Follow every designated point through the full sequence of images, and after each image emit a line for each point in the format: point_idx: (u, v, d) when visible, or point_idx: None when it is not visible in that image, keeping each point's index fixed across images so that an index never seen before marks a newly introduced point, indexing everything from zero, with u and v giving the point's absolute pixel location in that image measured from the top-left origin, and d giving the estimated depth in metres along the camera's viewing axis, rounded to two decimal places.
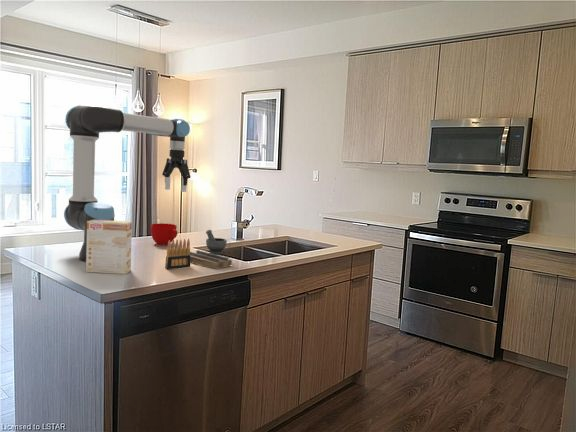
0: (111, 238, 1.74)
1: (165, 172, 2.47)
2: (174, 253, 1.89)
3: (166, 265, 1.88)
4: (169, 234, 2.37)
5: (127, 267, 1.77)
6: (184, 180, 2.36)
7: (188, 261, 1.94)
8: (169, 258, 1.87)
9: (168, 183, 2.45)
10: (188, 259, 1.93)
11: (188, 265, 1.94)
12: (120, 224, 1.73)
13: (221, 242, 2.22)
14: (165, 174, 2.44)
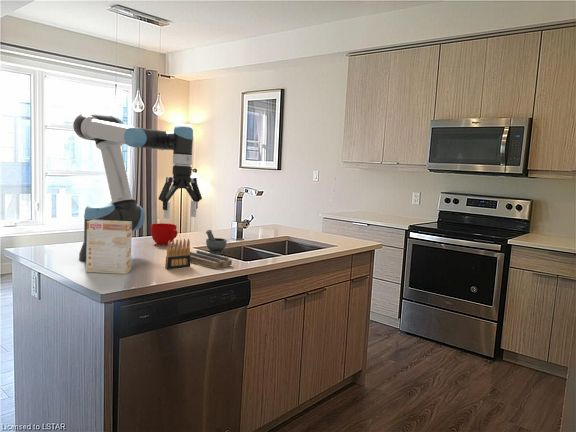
0: (111, 238, 1.74)
1: None
2: (174, 253, 1.89)
3: (166, 265, 1.88)
4: (169, 234, 2.37)
5: (127, 267, 1.77)
6: None
7: (188, 261, 1.94)
8: (169, 258, 1.87)
9: (193, 209, 1.94)
10: (188, 259, 1.93)
11: (188, 265, 1.94)
12: (120, 224, 1.73)
13: (221, 242, 2.22)
14: None
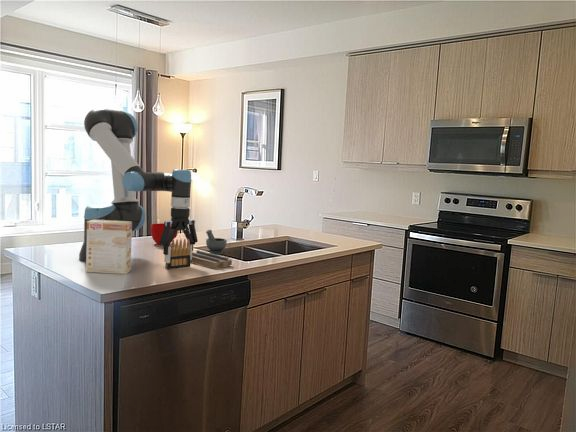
0: (111, 238, 1.74)
1: None
2: (174, 253, 1.89)
3: (166, 265, 1.88)
4: None
5: (127, 267, 1.77)
6: None
7: (188, 261, 1.94)
8: None
9: None
10: (188, 259, 1.93)
11: (188, 265, 1.94)
12: (120, 224, 1.73)
13: (221, 242, 2.22)
14: (189, 240, 1.96)
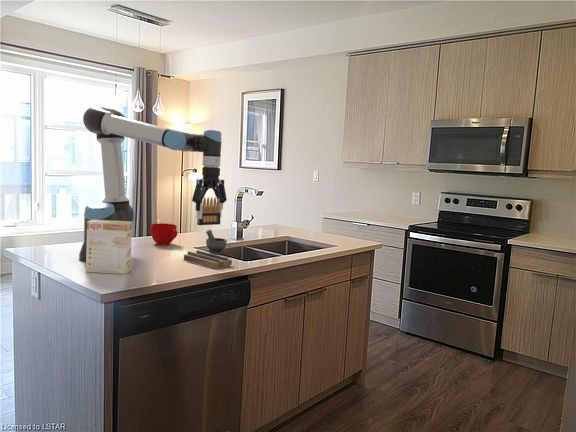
0: (111, 238, 1.74)
1: None
2: (205, 210, 1.99)
3: (198, 221, 1.98)
4: (169, 234, 2.37)
5: (127, 267, 1.77)
6: None
7: (218, 218, 2.04)
8: None
9: None
10: (218, 216, 2.03)
11: (218, 222, 2.04)
12: (120, 224, 1.73)
13: (221, 242, 2.22)
14: None
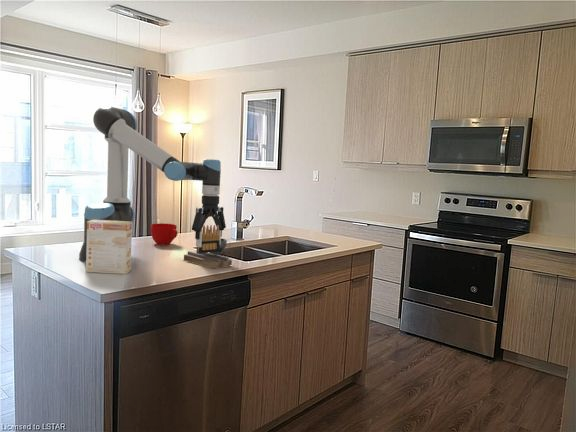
0: (111, 238, 1.74)
1: None
2: (205, 238, 2.01)
3: (198, 249, 2.00)
4: (169, 234, 2.37)
5: (127, 267, 1.77)
6: None
7: (217, 246, 2.05)
8: None
9: None
10: (217, 244, 2.05)
11: (217, 249, 2.06)
12: (120, 224, 1.73)
13: (221, 242, 2.22)
14: None
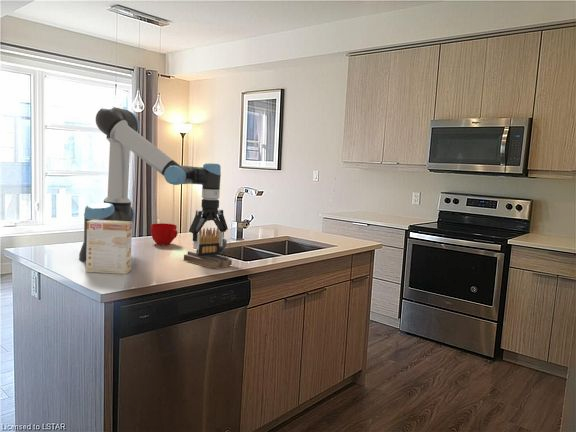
0: (111, 238, 1.74)
1: None
2: (205, 241, 2.01)
3: (197, 252, 2.00)
4: (169, 234, 2.37)
5: (127, 267, 1.77)
6: None
7: (217, 248, 2.06)
8: (200, 245, 1.99)
9: (219, 238, 2.08)
10: (217, 247, 2.05)
11: (217, 252, 2.06)
12: (120, 224, 1.73)
13: None
14: None
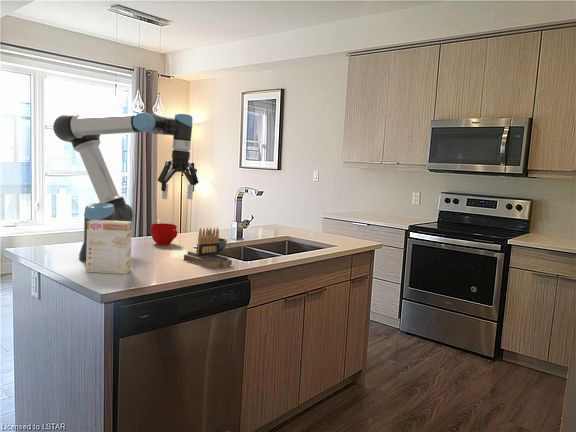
0: (111, 238, 1.74)
1: None
2: (205, 241, 2.01)
3: (197, 252, 2.00)
4: (169, 234, 2.37)
5: (127, 267, 1.77)
6: None
7: (217, 248, 2.06)
8: (200, 245, 1.99)
9: (189, 191, 2.08)
10: (217, 247, 2.05)
11: (217, 252, 2.06)
12: (120, 224, 1.73)
13: (221, 242, 2.22)
14: None
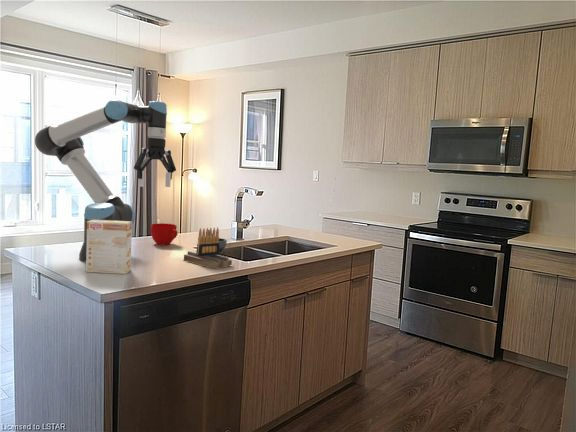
0: (111, 238, 1.74)
1: None
2: (205, 241, 2.01)
3: (197, 252, 2.00)
4: (169, 234, 2.37)
5: (127, 267, 1.77)
6: None
7: (217, 248, 2.06)
8: (200, 245, 1.99)
9: (167, 179, 2.09)
10: (217, 247, 2.05)
11: (217, 252, 2.06)
12: (120, 224, 1.73)
13: (221, 242, 2.22)
14: None
